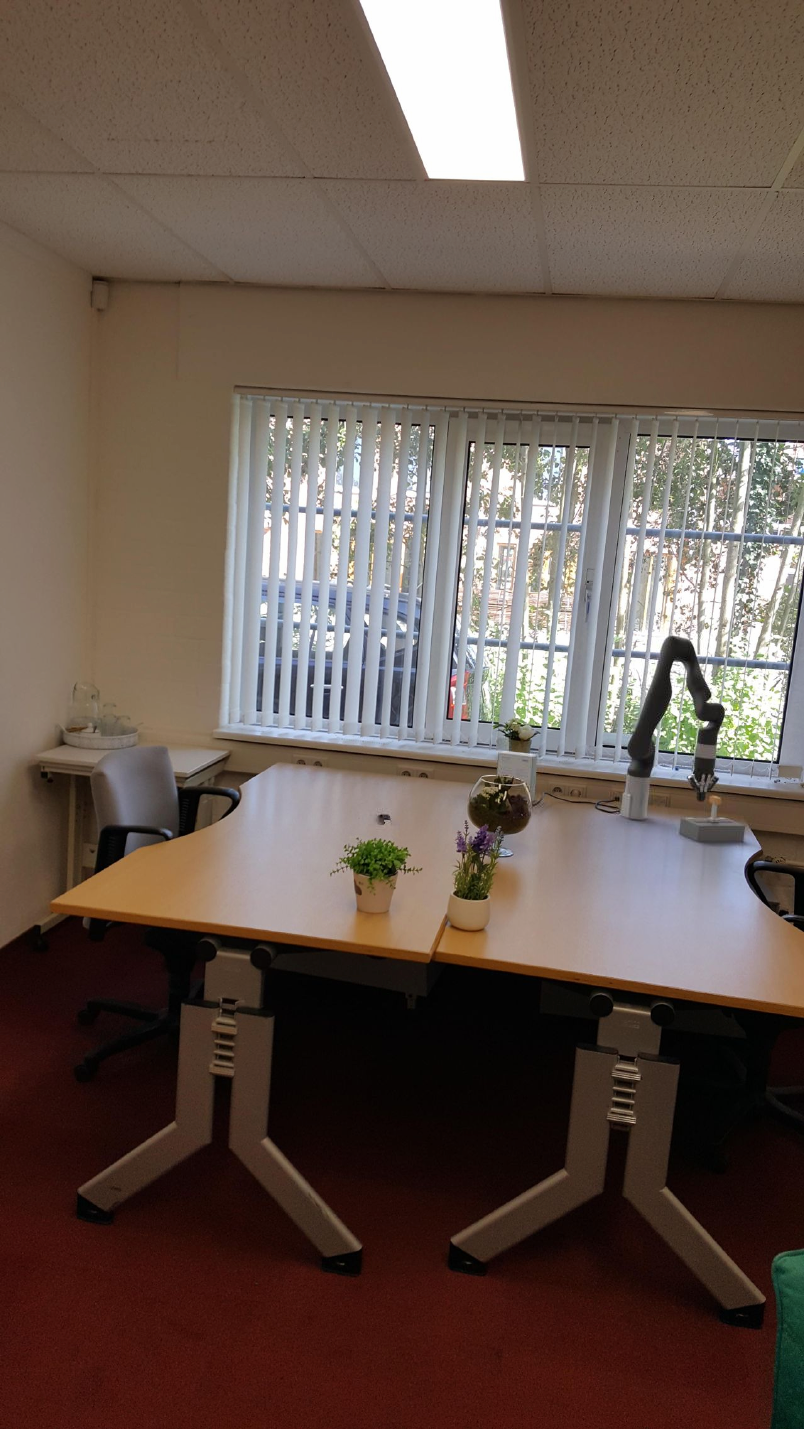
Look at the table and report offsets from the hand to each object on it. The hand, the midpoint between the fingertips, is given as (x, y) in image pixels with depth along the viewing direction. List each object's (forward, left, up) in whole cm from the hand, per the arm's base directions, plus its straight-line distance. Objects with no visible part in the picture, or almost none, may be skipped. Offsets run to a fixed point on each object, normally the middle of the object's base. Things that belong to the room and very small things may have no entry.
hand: (700, 801), depth 362 cm
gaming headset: (-116, +23, -15) cm, 119 cm away
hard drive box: (-49, +61, -14) cm, 79 cm away
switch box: (+6, 0, -14) cm, 15 cm away
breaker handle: (+6, 0, -8) cm, 10 cm away
